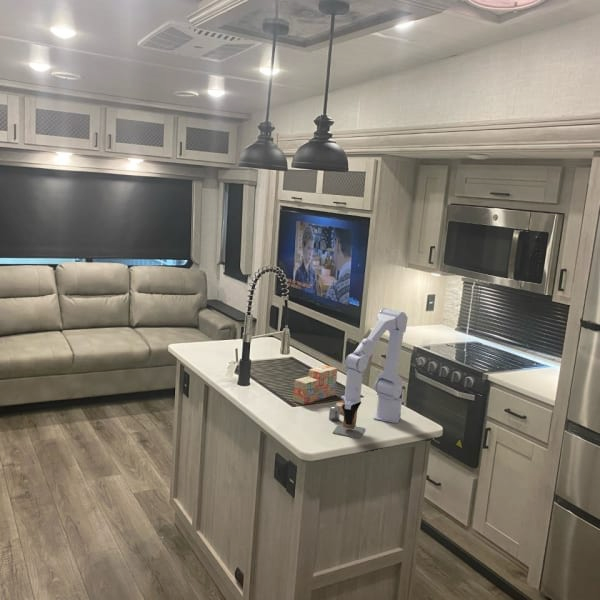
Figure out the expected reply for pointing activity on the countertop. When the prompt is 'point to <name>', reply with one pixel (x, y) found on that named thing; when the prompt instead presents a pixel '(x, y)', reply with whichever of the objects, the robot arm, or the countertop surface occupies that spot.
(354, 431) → the slate mat
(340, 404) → the peach dome knob
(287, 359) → the countertop surface
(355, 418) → the walnut block
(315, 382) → the stack of blocks
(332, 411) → the shiny grey rounded piece
